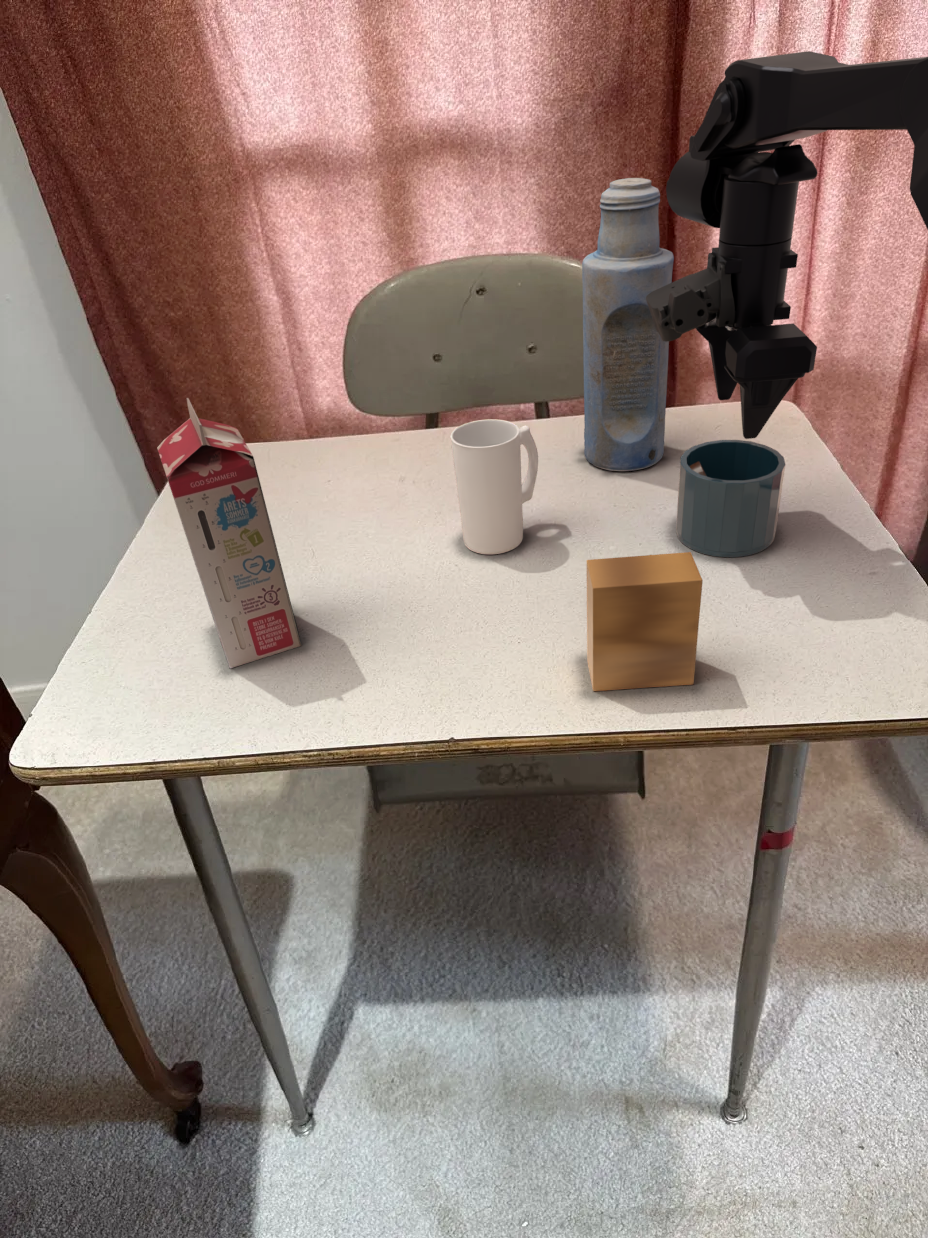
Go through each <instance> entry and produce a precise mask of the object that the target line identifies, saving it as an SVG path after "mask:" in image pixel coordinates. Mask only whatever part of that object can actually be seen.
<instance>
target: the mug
mask: <svg viewBox="0 0 928 1238" xmlns="http://www.w3.org/2000/svg"><path fill="white" fill-rule="evenodd" d="M449 438H450V444H451V445H450V446H451V455H452V462H453V467H454V468H453V470H454V477H455V484H456V492H457V493H456V494H457V500H458V509H459V515H460V516H459V517H460V523H461V531H462V538H463V544H464V545H465V547H466V548H467V549H468V550H470V551H471V552H474V553H477V554H482V555H497V554H498V555H501V554H504V553H508V552H510V551H512V550H514V549H516V548H518V547H519V546H520V545H521V543H522V542H523V539H524V515H523V513H524V512H523V504H525V503H526V502H528V501H531V500H532V498H533V495H534V490H535V486H536V481H537V475H538V471H539V452H538V446H537V444H536V442H535V439H534V437H533V435H532V432H531V428H530V426H528V425H522V426H520V427H519V426H518V425H517V424H515V423H514V422H512V421H510V420H504V419H495V418H492V419H491V418H488V419H480V420H473V421H469V422H466V423H464V424H461V425H458V426H457V427H455V428H454V429H453V430H452V431H451V433H450V437H449ZM521 445H522V446H524V448H525V450H526V453H527V459H528V461H527V462H528V463H527V470H526V474H525V478H524V480H523V482H522V455H521V453H522V452H521V451H522V450H521Z"/></svg>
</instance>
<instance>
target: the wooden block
mask: <svg viewBox="0 0 928 1238" xmlns="http://www.w3.org/2000/svg"><path fill="white" fill-rule="evenodd" d="M702 593H703V577H702V575H701V573H700V570H699V568H698V566H697V564H696V561H695V559H694V557H693V554H692V551H685V552H674V553H673V552H672V553H659V554H658V553H657V554H646V555H634V556H633V555H632V556H621V557H619V556H618V557H607V558H605V557H604V558H594V559H593V558H592V559H586V654H587V655H586V661H587V666H588V673H589V677H590V683H591V688H592V692H602V691H617V690H631V689H647V688H662V687H676V686H677V687H679V686H691V685H694V681H695V671H696V661H697V660H696V658H697V649H698V648H697V647H698V637H699V625H700V614H701V603H702Z"/></svg>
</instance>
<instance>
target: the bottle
mask: <svg viewBox="0 0 928 1238" xmlns="http://www.w3.org/2000/svg"><path fill="white" fill-rule="evenodd" d="M599 202H600V204H599V208H600V224H599V230H598V237H597V248H596V250H595V251H593V252H591V253H589V254H587V255H586V256H585V257H584V258H583V260H582V262H581V264H582V265H581V267H582V268H581V272H582V273H581V275H582V338H583V339H582V345H583V347H582V348H583V355H582V357H583V359H582V360H583V411H584V412H583V413H584V415H583V418H584V421H583V423H584V428H583V440H584V442H583V444H584V450H583V451H584V452H583V455H584V458H585V459H586V461H587V462H588V463H590V464H591V465H593V466H594V467H597V468H599V469H602V470H606V471H613V472H629V471H630V472H631V471H632V472H633V471H637V470H643V469H646V468H649V467H652V466H654V465H656V464H657V463H658V462H660V460H662V458H663V456H664V453H665V435H666V432H665V431H666V412H667V411H666V410H667V409H666V407H667V393H668V392H667V389H668V374H669V373H668V372H669V371H668V369H669V347H670V345H669V344H670V341H669V342H665V341H662V339H661V337H660V335H659V333H658V332H657V331H656V328H655V325H654V322H653V319H652V316H651V313H650V310H649V307H648V304H647V301H646V296H647V295H648V294H649V293H651V292H653V291H655V290H657V289H659V288H661V287H663V286H666V285H668V284H670V283H672V282H673V281H672V280H673V270H674V269H673V268H674V259H675V256H674V253H673V252H672V251H671V250H668V249H666V248H662V247H660V242H661V241H660V224H659V204H660V202H661V193H660V190H659V188H658V187H655V186H653V185H652V180H650V179H649V178H642V177H627V178H621V179H616V180H613V181H610V182H609V187H608V188H607V189H606V190H604V191H603V192H602V193H601V196H600V200H599Z"/></svg>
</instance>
